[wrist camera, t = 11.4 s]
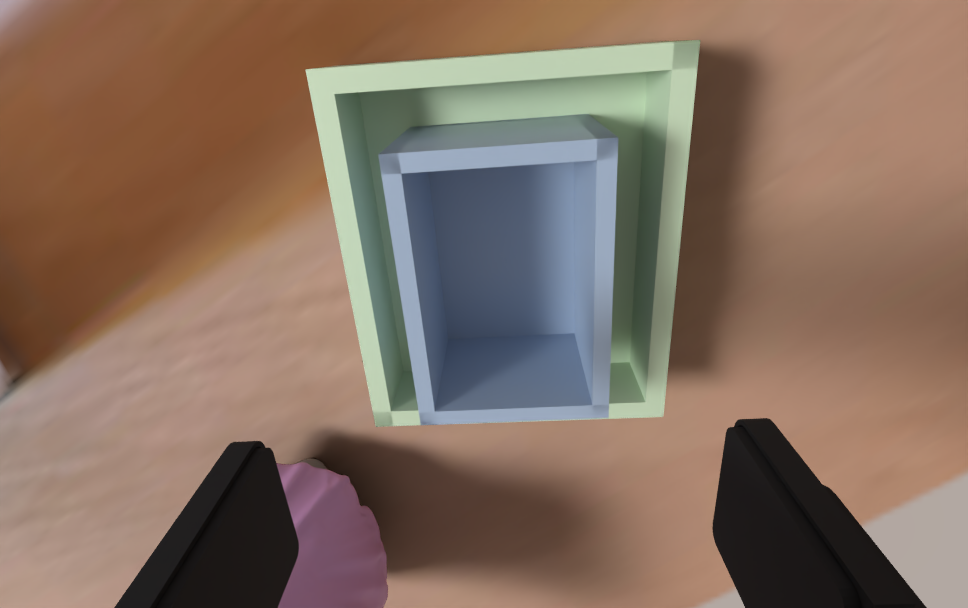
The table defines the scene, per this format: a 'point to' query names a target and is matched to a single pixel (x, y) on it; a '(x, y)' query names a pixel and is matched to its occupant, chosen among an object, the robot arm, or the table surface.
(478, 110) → the green tray
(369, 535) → the toy character
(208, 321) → the table surface
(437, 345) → the small crate
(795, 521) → the robot arm
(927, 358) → the table surface
